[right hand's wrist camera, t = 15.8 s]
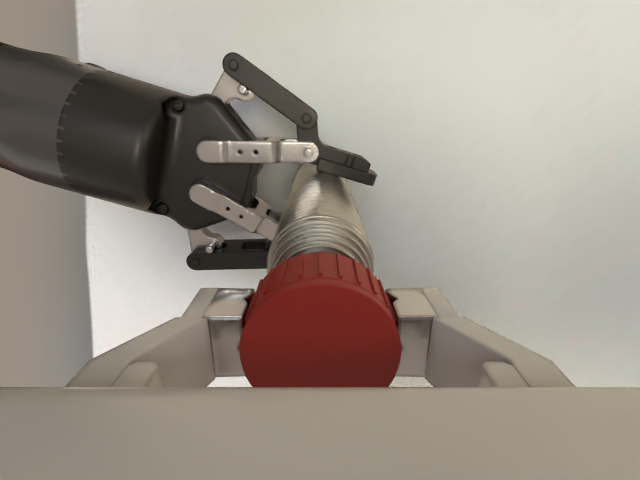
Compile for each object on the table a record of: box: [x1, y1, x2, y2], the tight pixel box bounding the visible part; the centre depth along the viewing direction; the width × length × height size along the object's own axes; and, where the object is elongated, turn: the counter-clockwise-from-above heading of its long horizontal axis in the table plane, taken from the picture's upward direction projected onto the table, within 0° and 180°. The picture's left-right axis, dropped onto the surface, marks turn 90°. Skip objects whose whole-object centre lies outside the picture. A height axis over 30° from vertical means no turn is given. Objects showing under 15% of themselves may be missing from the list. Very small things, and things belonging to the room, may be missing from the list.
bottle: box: [267, 163, 374, 274], centre depth 19 cm, size 4×4×21 cm
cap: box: [239, 251, 401, 387], centre depth 9 cm, size 4×4×2 cm
